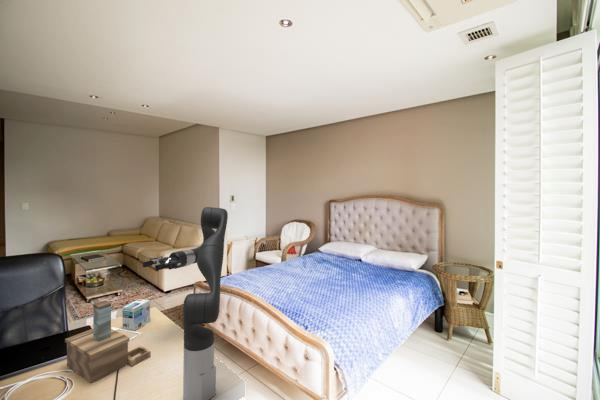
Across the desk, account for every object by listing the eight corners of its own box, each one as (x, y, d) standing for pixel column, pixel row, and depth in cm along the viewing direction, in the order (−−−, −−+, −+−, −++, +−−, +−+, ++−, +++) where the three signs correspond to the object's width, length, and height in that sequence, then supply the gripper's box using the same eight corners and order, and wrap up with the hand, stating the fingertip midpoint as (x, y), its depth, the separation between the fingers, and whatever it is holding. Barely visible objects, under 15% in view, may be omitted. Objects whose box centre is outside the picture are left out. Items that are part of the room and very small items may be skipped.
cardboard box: (150, 356, 109) (150, 331, 109) (93, 386, 92) (93, 356, 92) (121, 341, 120) (121, 318, 119) (64, 366, 102) (64, 338, 102)
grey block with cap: (111, 336, 104) (111, 302, 104) (98, 342, 101) (99, 306, 100) (105, 333, 106) (105, 300, 106) (93, 338, 103) (93, 304, 102)
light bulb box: (133, 331, 128) (134, 308, 128) (121, 329, 129) (121, 307, 129) (150, 321, 139) (150, 299, 138) (139, 319, 140) (139, 298, 140)
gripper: (172, 248, 133) (139, 255, 119) (192, 252, 126) (159, 260, 112) (172, 264, 133) (138, 272, 119) (192, 269, 126) (159, 278, 112)
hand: (149, 266), depth 115 cm, fingers open, 8 cm apart
